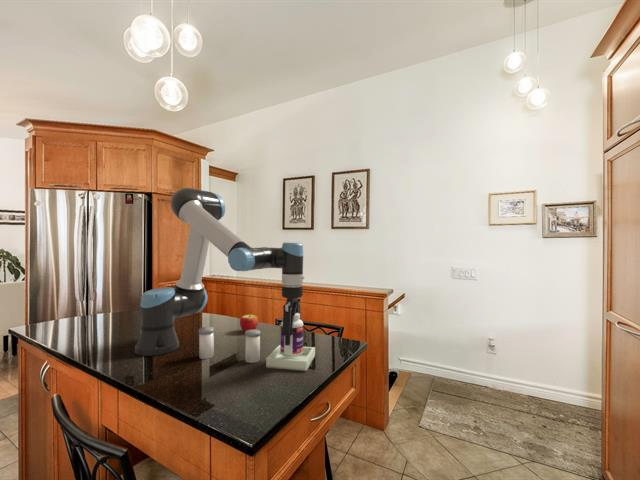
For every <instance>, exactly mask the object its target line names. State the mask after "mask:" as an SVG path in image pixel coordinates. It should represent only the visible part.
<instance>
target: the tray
mask: <svg viewBox="0 0 640 480" xmlns="http://www.w3.org/2000/svg"><path fill="white" fill-rule="evenodd" d="M315 357H316V347H315V346H312V347H311V346H303V353H302V355H300V356H298V357H284V356H283V355H282V354H281V344H279V345H278V346H276V348H275V349H274V350H273V351H272V352H271V353H270V354H269V355H268V356H267V357H266V358H265V362H266V363H265V368H267V369H276V370H277V369H279V370H289V371H300V372H301V371H302V372H303V371H304V372H307V370H308V369H309V367H310V366H311V364H312V362H313V360H314V358H315Z"/></svg>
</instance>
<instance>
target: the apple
mask: <svg viewBox="0 0 640 480" xmlns="http://www.w3.org/2000/svg"><path fill="white" fill-rule="evenodd" d="M252 311H253V310H252V309H251V310H250V311H249V314H245V315H242V316H241V317H240V319H239V326H240V328H241V330H242V331H243V332H245V331H247V330H257V327H258V323H259V318H258V316H257V315H255V314H251V313H252Z"/></svg>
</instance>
